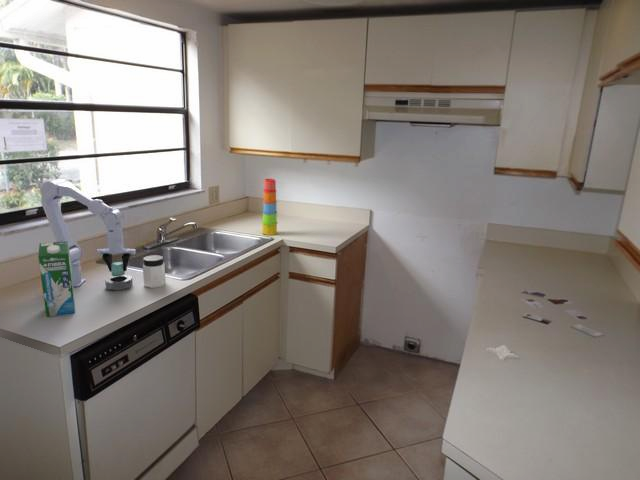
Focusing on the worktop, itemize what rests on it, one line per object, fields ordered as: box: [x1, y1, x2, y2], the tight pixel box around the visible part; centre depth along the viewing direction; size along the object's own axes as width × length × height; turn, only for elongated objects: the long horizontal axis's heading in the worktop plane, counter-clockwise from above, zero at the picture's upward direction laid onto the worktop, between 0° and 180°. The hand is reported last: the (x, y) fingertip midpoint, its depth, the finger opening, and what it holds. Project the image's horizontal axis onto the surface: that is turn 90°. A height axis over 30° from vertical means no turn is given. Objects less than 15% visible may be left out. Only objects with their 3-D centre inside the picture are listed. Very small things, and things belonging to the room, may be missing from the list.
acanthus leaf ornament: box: [485, 345, 519, 361], centre depth 146 cm, size 8×7×2 cm
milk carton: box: [38, 241, 76, 318], centre depth 161 cm, size 9×9×25 cm
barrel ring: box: [104, 274, 133, 292], centre depth 188 cm, size 10×10×3 cm
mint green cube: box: [111, 261, 126, 276], centre depth 186 cm, size 5×5×4 cm
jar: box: [142, 254, 167, 289], centre depth 190 cm, size 9×8×12 cm
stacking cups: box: [261, 178, 279, 236], centre depth 278 cm, size 10×10×35 cm
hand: (118, 270), depth 186 cm, fingers closed on mint green cube, 5 cm apart
